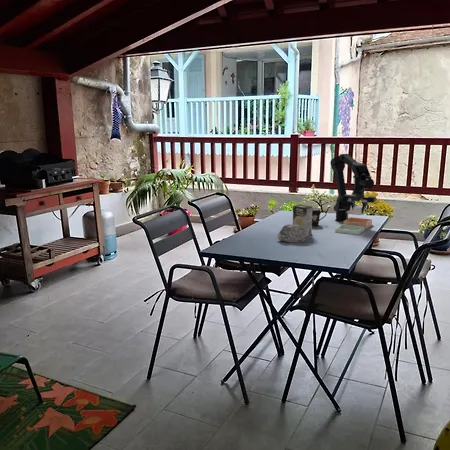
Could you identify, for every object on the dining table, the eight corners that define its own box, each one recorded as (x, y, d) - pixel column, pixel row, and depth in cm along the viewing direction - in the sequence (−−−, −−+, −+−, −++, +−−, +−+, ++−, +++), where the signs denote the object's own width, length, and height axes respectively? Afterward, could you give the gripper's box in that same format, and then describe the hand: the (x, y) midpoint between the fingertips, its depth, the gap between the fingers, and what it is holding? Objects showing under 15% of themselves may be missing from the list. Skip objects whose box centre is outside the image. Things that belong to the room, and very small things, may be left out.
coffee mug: (304, 226, 274) (304, 209, 272) (307, 223, 282) (307, 207, 279) (323, 227, 269) (324, 210, 267) (326, 224, 277) (327, 208, 275)
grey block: (353, 214, 267) (353, 206, 266) (355, 213, 271) (355, 205, 270) (360, 215, 265) (361, 207, 264) (363, 213, 269) (363, 206, 268)
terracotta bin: (343, 227, 268) (343, 220, 267) (350, 223, 278) (350, 217, 277) (365, 230, 261) (366, 223, 260) (371, 225, 271) (372, 219, 270)
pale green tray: (335, 232, 257) (335, 228, 256) (342, 228, 267) (342, 224, 266) (358, 235, 250) (358, 231, 249) (364, 230, 260) (364, 226, 259)
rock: (311, 240, 241) (308, 221, 240) (305, 243, 234) (302, 224, 233) (283, 242, 249) (280, 224, 248) (277, 245, 242) (274, 226, 241)
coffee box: (291, 234, 256) (292, 206, 252) (298, 232, 260) (298, 204, 257) (306, 237, 250) (306, 207, 246) (312, 234, 254) (313, 206, 251)
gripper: (338, 187, 263) (337, 214, 266) (371, 189, 253) (370, 217, 256) (345, 184, 272) (344, 210, 275) (377, 186, 262) (375, 213, 265)
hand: (358, 213), depth 268 cm, fingers closed on grey block, 4 cm apart
